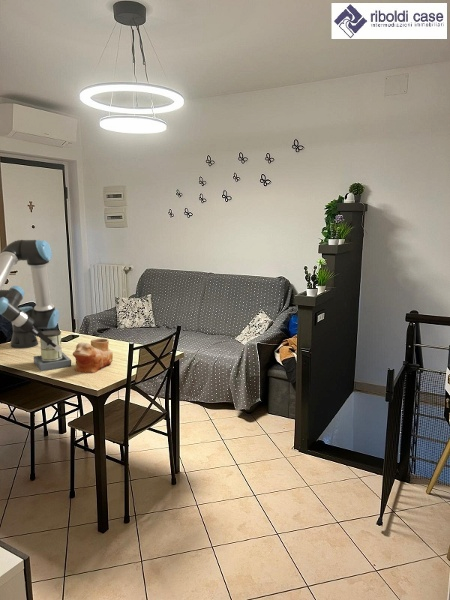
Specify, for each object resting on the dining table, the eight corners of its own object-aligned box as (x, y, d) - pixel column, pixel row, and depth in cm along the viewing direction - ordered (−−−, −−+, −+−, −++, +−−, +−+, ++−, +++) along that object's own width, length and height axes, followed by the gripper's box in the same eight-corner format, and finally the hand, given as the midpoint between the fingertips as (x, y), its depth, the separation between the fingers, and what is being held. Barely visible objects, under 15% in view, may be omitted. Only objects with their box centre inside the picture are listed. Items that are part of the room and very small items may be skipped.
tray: (33, 362, 237) (33, 356, 236) (62, 358, 245) (62, 352, 244) (41, 371, 223) (40, 364, 222) (71, 366, 231) (71, 359, 230)
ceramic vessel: (65, 373, 220) (63, 344, 218) (97, 359, 244) (96, 332, 242) (88, 377, 216) (87, 347, 213) (118, 361, 240) (118, 334, 237)
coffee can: (39, 357, 234) (37, 331, 232) (59, 354, 240) (58, 329, 238) (43, 362, 226) (41, 335, 224) (64, 359, 232) (63, 333, 229)
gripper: (13, 323, 231) (47, 348, 242) (22, 331, 212) (57, 358, 224) (24, 312, 233) (56, 337, 244) (33, 319, 214) (68, 346, 226)
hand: (57, 347), depth 234 cm, fingers closed on coffee can, 10 cm apart
